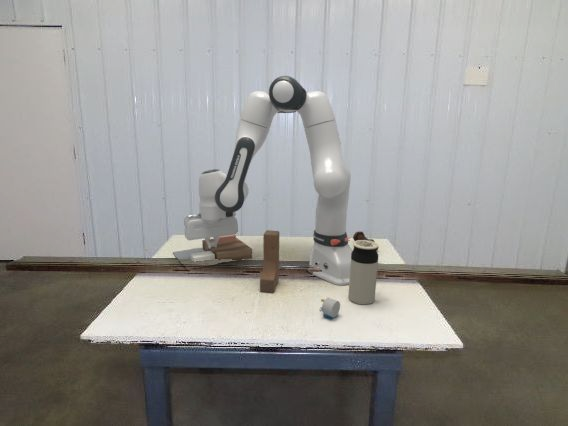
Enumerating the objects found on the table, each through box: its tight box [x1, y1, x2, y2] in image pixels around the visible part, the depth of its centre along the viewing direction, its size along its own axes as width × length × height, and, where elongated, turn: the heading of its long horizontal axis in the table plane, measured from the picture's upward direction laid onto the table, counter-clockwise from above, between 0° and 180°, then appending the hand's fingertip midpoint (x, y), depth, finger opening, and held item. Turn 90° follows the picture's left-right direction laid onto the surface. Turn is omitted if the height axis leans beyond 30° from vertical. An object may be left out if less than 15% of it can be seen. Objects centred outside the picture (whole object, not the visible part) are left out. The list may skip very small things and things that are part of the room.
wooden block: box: [259, 229, 280, 293], centre depth 119 cm, size 9×4×18 cm, turn 170°
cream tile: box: [190, 251, 215, 262], centre depth 140 cm, size 5×8×2 cm, turn 120°
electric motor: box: [319, 297, 341, 320], centre depth 103 cm, size 7×5×5 cm
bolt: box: [352, 231, 380, 251], centre depth 162 cm, size 6×5×15 cm
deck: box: [201, 237, 253, 261], centre depth 150 cm, size 19×14×4 cm
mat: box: [172, 247, 205, 260], centre depth 144 cm, size 20×12×1 cm, turn 30°
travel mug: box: [348, 240, 379, 305], centre depth 112 cm, size 8×8×18 cm
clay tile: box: [212, 234, 237, 244], centre depth 153 cm, size 5×8×2 cm, turn 120°
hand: (212, 247), depth 141 cm, fingers closed
